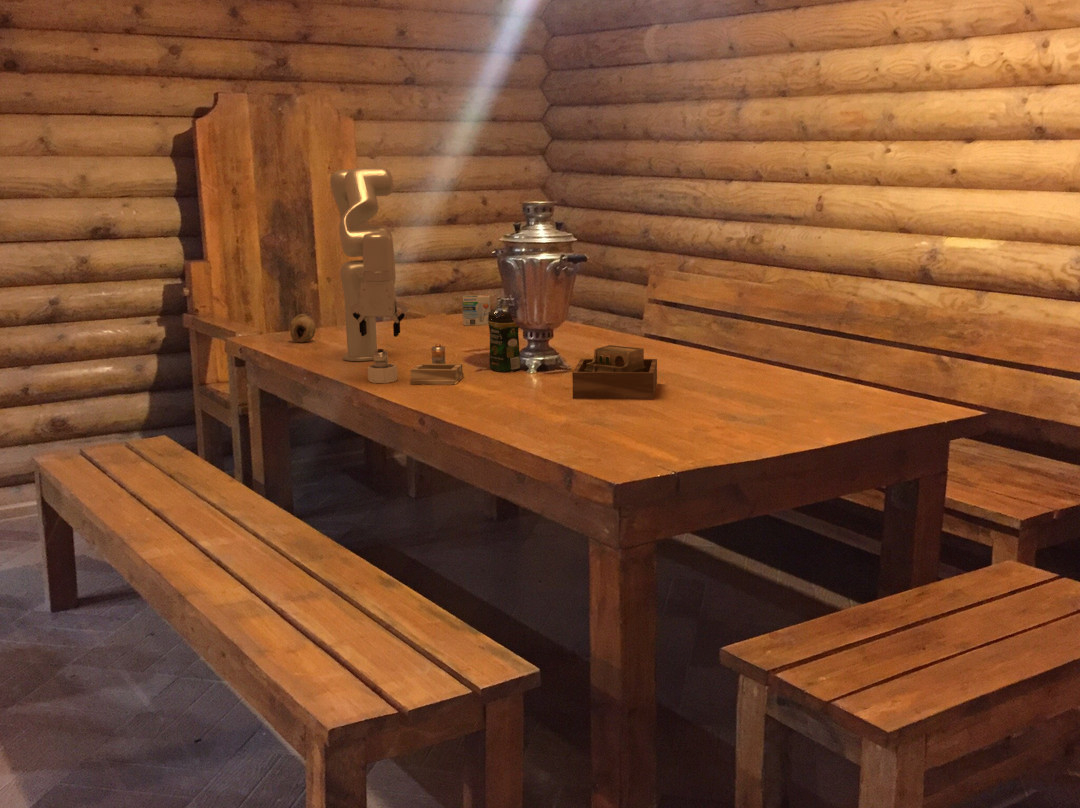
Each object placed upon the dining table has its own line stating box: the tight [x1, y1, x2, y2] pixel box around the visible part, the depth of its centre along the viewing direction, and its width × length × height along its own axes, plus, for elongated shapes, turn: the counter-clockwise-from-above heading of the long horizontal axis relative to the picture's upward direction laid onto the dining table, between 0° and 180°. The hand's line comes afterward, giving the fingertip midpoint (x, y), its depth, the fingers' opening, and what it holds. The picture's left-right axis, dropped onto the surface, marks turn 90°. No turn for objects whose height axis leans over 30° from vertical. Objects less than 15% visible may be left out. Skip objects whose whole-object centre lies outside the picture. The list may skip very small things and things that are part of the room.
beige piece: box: [367, 363, 398, 384], centre depth 336 cm, size 8×8×4 cm
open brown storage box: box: [572, 358, 658, 400], centre depth 315 cm, size 20×21×7 cm
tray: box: [409, 363, 464, 386], centre depth 335 cm, size 12×13×4 cm
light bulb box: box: [462, 294, 491, 326], centre depth 440 cm, size 11×7×11 cm, turn 95°
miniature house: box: [584, 344, 646, 372], centre depth 316 cm, size 15×14×11 cm
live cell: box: [430, 343, 447, 364], centre depth 345 cm, size 4×4×9 cm
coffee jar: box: [488, 308, 521, 373], centre depth 347 cm, size 10×8×19 cm
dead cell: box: [373, 348, 389, 368], centre depth 336 cm, size 4×4×9 cm
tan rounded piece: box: [289, 313, 317, 344], centre depth 407 cm, size 10×8×10 cm
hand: (380, 335), depth 335 cm, fingers open, 9 cm apart
